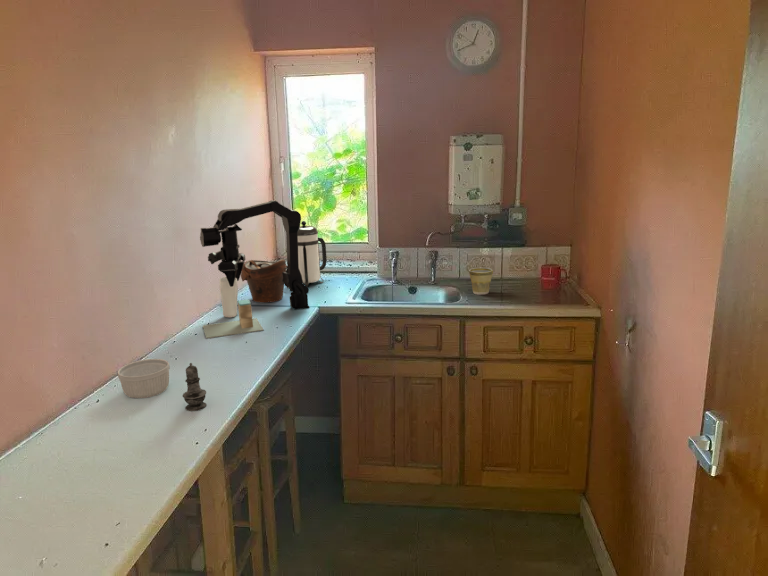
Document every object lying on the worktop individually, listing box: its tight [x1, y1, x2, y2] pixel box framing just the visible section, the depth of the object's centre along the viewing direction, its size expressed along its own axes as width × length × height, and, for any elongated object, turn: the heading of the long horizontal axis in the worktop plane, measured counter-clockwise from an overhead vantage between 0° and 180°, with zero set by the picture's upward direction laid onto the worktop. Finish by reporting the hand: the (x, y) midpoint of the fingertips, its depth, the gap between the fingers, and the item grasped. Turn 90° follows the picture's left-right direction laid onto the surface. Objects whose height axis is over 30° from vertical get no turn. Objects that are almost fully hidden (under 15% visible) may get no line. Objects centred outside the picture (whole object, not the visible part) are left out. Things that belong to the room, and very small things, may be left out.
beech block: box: [237, 299, 253, 328], centre depth 218 cm, size 4×6×9 cm, turn 21°
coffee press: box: [298, 220, 327, 288], centre depth 281 cm, size 17×16×30 cm
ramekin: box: [117, 358, 171, 399], centre depth 163 cm, size 13×13×7 cm
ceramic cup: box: [468, 267, 494, 296], centre depth 254 cm, size 13×10×10 cm
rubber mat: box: [202, 317, 265, 339], centre depth 217 cm, size 20×16×1 cm
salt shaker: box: [182, 362, 207, 412], centre depth 151 cm, size 6×6×12 cm
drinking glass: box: [218, 276, 239, 318], centre depth 231 cm, size 7×7×15 cm
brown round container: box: [240, 258, 287, 303], centre depth 255 cm, size 18×20×18 cm
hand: (234, 283), depth 227 cm, fingers open, 9 cm apart
